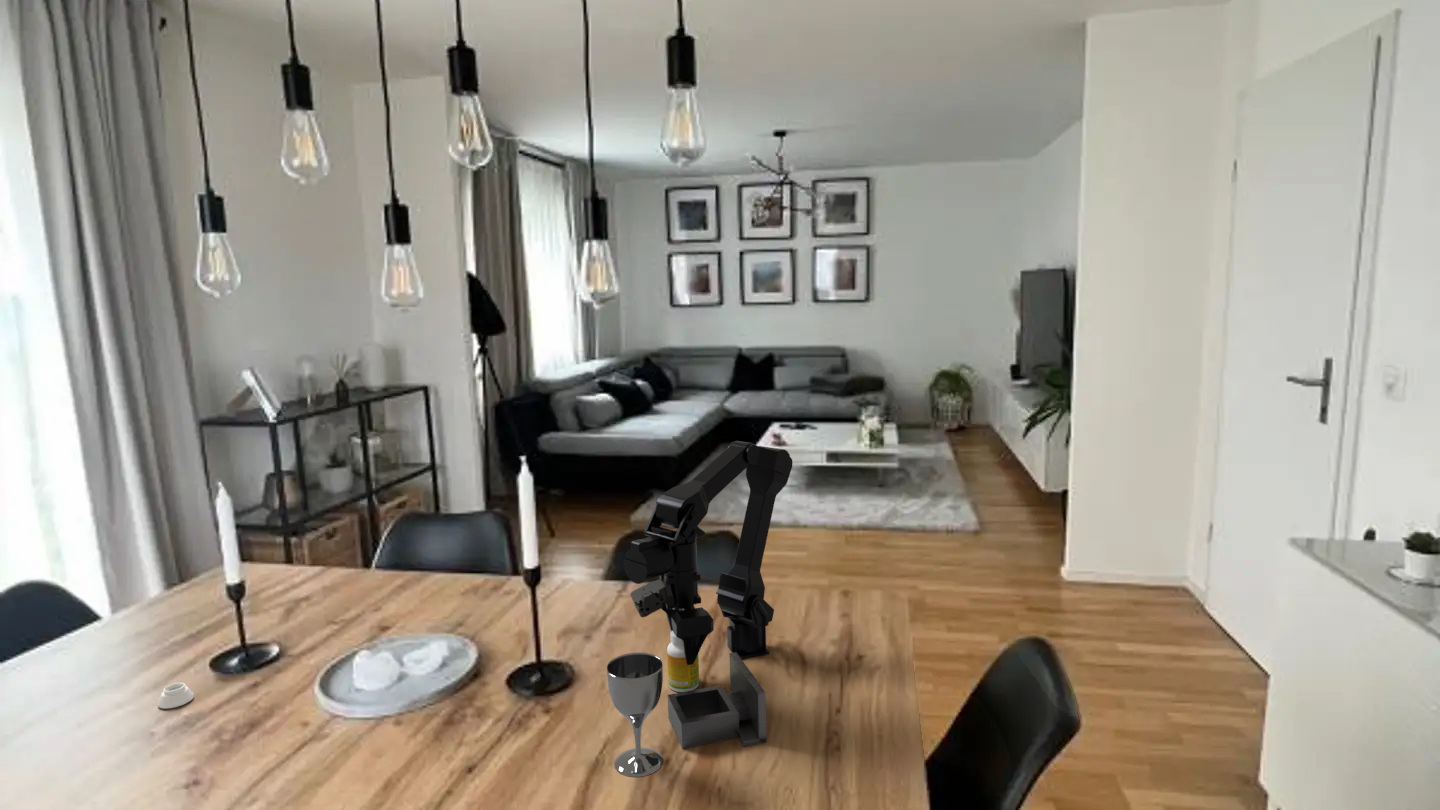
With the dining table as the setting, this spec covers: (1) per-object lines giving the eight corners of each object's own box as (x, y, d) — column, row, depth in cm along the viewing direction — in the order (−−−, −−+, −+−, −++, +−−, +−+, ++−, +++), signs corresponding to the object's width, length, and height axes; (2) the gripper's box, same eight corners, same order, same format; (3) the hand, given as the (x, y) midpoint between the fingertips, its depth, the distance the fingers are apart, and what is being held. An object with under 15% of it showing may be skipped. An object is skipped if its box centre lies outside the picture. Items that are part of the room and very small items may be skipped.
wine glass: (612, 748, 117) (608, 654, 114) (665, 744, 117) (662, 650, 115) (609, 780, 109) (605, 680, 107) (666, 776, 109) (662, 676, 107)
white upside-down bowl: (151, 708, 132) (173, 712, 130) (149, 692, 131) (171, 696, 130) (179, 694, 136) (200, 697, 135) (177, 678, 136) (198, 681, 135)
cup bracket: (737, 697, 130) (736, 652, 129) (766, 741, 117) (765, 692, 116) (664, 710, 127) (663, 664, 126) (686, 758, 114) (684, 707, 112)
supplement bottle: (695, 694, 132) (693, 640, 130) (664, 691, 133) (662, 638, 131) (702, 679, 137) (700, 626, 136) (672, 676, 138) (671, 624, 137)
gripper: (623, 554, 138) (627, 637, 141) (644, 592, 121) (648, 686, 123) (683, 547, 142) (686, 628, 144) (713, 582, 124) (715, 674, 126)
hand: (683, 652), depth 134 cm, fingers open, 9 cm apart
